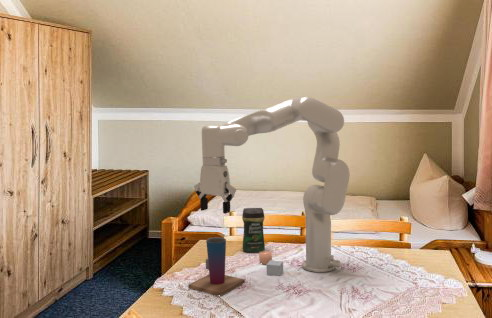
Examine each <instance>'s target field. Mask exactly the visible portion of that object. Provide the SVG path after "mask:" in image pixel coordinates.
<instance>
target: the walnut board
mask: <svg viewBox="0 0 492 318" xmlns="http://www.w3.org/2000/svg"><path fill="white" fill-rule="evenodd" d="M243 283H244V284H246V279H244V278H240V277H235V276H231V275H228V274H225V282H224V283H222V284H217V285H216V284H211V283H210V275H209V274H207V275H205V276H203V277H201V278H199V279H197V280H195V281H193V282H191V283H189V284H188V286H187V287H189V288H188V289H191V288H192V289H191V290H194V289H195V290H196V291H199V292H202V291H203V292H204V293H207V294H210V295H213V294H215V295H214V296H217V295H220V296H219V297H222V296H224V295H226V294H227V292H228V293H229V292H231V291H233V290H235V289H236V287H237V288H238V287H240V286H243ZM195 290H194V291H195ZM203 292H202V293H203ZM225 293H226V294H225ZM223 294H224V295H223ZM221 295H222V296H221Z"/></svg>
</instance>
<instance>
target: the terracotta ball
mask: <svg viewBox="0 0 492 318" xmlns="http://www.w3.org/2000/svg"><path fill="white" fill-rule="evenodd" d="M272 255H273V253H272V251H270V250H264V251H261V252H258V258H259V264H260V263H262V264H261V265H267V263H268V262H269V261H270V260H273V256H272Z"/></svg>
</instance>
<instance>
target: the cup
mask: <svg viewBox="0 0 492 318" xmlns="http://www.w3.org/2000/svg"><path fill="white" fill-rule="evenodd" d="M205 242H206V250H207V253H206V254H207V259H208V264H209V270H208V272H209V273H208V275H210V283H211V284H216V285H217V284H222V283H224V282H225V275H226V253H227V252H226V251H227V250H226V248H227V247H226V246H227V239H226V238H225V237H219V236H217V237H216V236H215V237H209V238H207V239H206V241H205Z"/></svg>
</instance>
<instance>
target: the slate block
mask: <svg viewBox="0 0 492 318" xmlns="http://www.w3.org/2000/svg"><path fill="white" fill-rule="evenodd" d="M283 272H284V261H283V260H273V259H272V260H270V261H269V262H268V263H267V264H266V275H269V276H277V277H278V276H279V277H280V276H282V274H283Z"/></svg>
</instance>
